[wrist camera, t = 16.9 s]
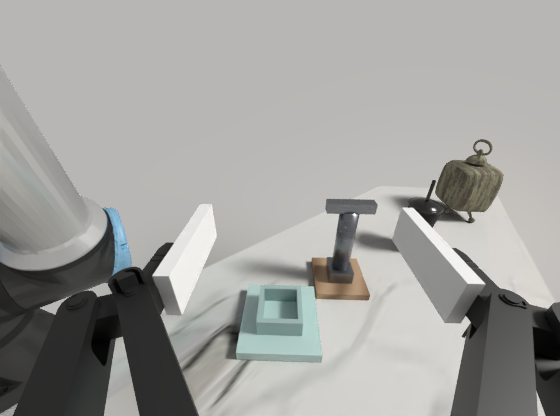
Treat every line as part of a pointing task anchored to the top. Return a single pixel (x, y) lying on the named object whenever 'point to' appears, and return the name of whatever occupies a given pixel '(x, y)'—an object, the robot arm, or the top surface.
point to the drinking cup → (427, 207)
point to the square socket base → (280, 325)
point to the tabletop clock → (469, 183)
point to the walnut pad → (338, 290)
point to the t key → (345, 236)
